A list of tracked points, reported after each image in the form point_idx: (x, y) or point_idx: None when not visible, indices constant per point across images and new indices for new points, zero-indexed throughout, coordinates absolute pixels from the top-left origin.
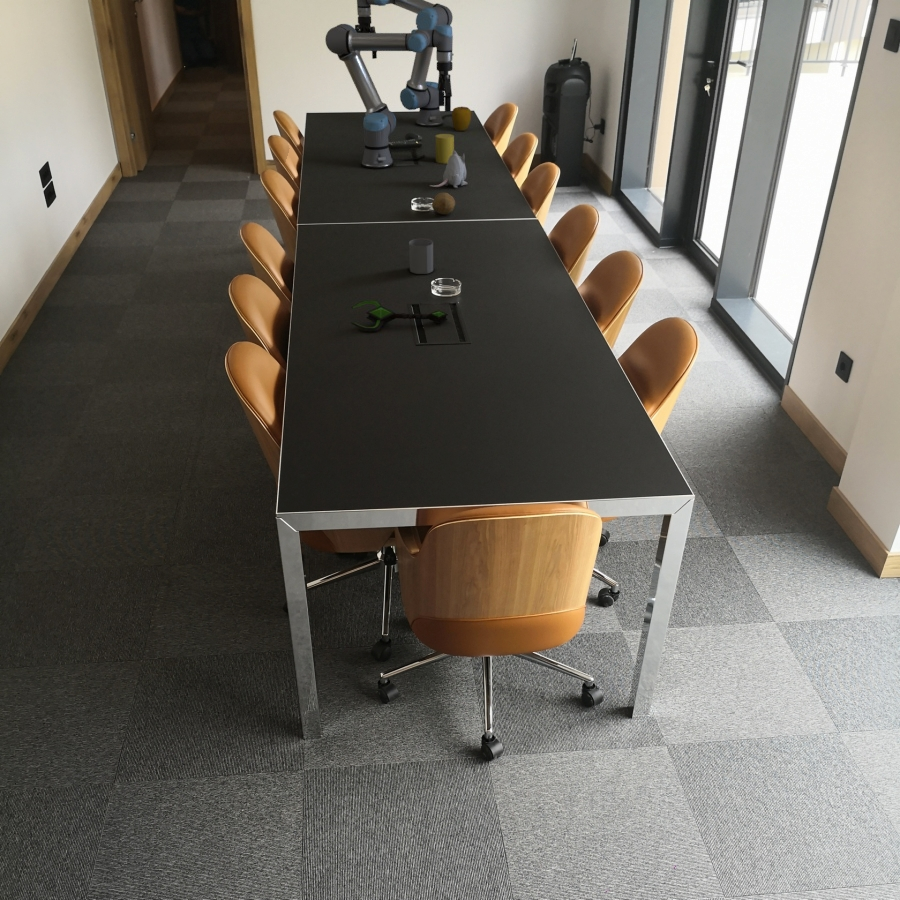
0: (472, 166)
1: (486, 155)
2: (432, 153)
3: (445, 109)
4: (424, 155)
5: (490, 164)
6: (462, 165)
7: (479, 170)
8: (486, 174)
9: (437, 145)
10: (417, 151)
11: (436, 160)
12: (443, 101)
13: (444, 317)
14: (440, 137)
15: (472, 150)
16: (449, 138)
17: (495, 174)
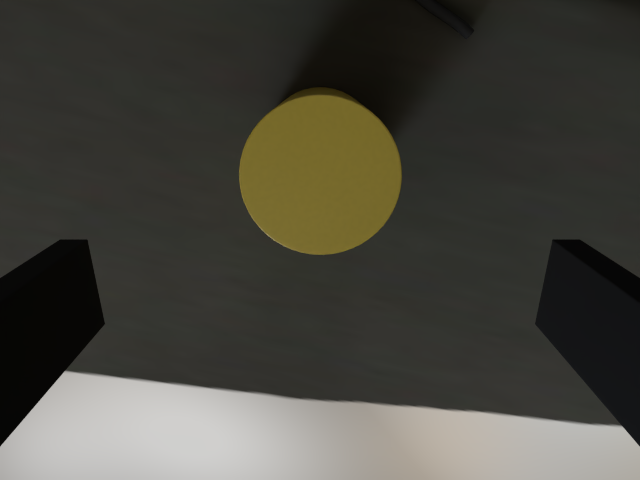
0: (180, 268)
1: (382, 378)
2: (525, 111)
3: (37, 260)
4: (463, 36)
5: (208, 356)
6: None
7: (97, 282)
8: None
9: (287, 99)
10: (618, 17)
11: (306, 89)
12: (576, 353)
13: None
14: (272, 131)
15: (502, 341)
16: (245, 203)
17: None
